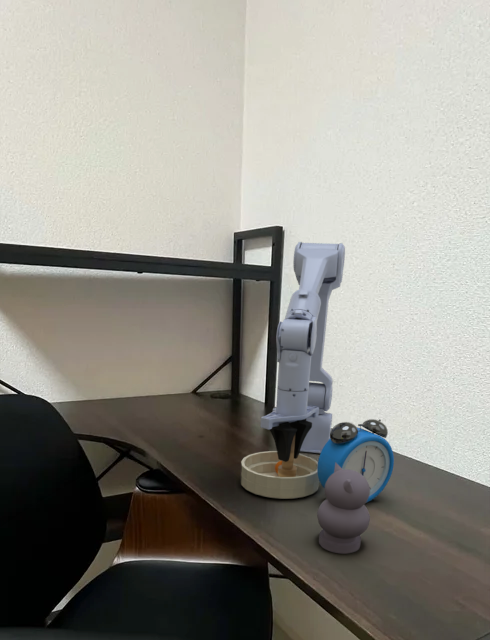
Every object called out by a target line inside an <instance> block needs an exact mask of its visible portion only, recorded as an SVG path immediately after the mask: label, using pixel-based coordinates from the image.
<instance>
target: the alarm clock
mask: <svg viewBox="0 0 490 640" xmlns="http://www.w3.org/2000/svg"><path fill="white" fill-rule="evenodd" d="M357 426H358V427H357ZM388 435H389V430H388V428H387V426H386V424H385V423H383V422H382V420H381V419H375V418H369V419H367V420H366V419H365V420H364V421H363V422H362V423H358V424H357V425H356V424H354V423H352V422H350V421H342V422H339V423H337V424H335V425H334V426H333V427H331V432H330V439H329V440H328V442H327V443H326V444H325V446H324V447H323V449H322V451H321V453H319V456H318V460H317V461H318V466H317V473H318V478H319V484H320V485H321V487H322V488H323V489H324V490H325V484H326V481H327V480H328V478H329V477H330V476H331V475H332V474H333V473H334V469H335V462H336V463H337V464H338V465H339V466H340V467H341V468H342V469H343V470H344V469H348V470H354V471H356V472H358V473H360V474H361V475H363V476H364V477H365V478H366V480H367V482H368V484H369V487H370V494H369V498H368V500H367V502H366V503H369V502H374V501H375V499H376V498H377V497H378V496H379V495H380V494H381V493H382V492H383V491H384V490H385V488H386V486H387V485H388V483H389V482H390V479H391V477H392V474H393V471H394V467H395V466H394V465H395V456H394V450H393V448H392V445H391V444H390V443H389V442H388V441H387V437H388ZM366 503H365V504H366Z"/></svg>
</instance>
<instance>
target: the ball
mask: <svg viewBox="0 0 490 640" xmlns="http://www.w3.org/2000/svg"><path fill="white" fill-rule="evenodd" d="M280 465H282V461H279V462H278V463H277V464H276V465H275V471H276V473H277V474H278V467H279V466H280Z"/></svg>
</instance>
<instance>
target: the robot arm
mask: <svg viewBox="0 0 490 640" xmlns="http://www.w3.org/2000/svg"><path fill="white" fill-rule="evenodd" d="M345 260H346V247H345V245H344V243H343V242H340V243H327V242H326V243H324V242H321V243H320V242H318V243H317V242H302V241H298V242H297V244H296V245H295V247H294V250H293V272H294V274H295V278H296V281H297V283H298V284H297V285H299V286H298V289H297V290H295V291H294V292H293V293H292V294H291V296H290V299H289V302H288V306H287V310H286V313H285V317H284V319H283V321H279V322H278V325H277V329H276V335H275V336H276V337H275V338H276V339H275V340H276V342H275V343H276V351H277V352H276V353H277V355H276V362H277V363H278V372H277V387H276V388H277V389H276V405H275V406H276V407H273V408H272V412H270V413H268V414H266V415H263V416H260V428H261V429H265V430H269V432H270V434H271V436H272V438H273V442H274V444H275V449H276V451H277V454H278V459H279V460H282V461H285V462H287V461H289V458H290V452H291V445H292V441H293V438H294V435H295V433H296V435H295V448H294V459H296V458H298V455H299V454H300V452H301V453H302V452H304V453H313V454H321V451H322V449H323V447H324V446H325V444H326V443H327V442H328V440H329V439H330V432H331V430H332V425H333V413H332V412H328V411H329V410H330V409H331V406H332V400H333V382H334V380H333V377H332V376H331V374H329V373H328V372H327V371H326V370H325V369H324V368H323V362H324V353H325V352H324V351H325V341H326V331H327V323H328V321H327V320H328V311H329V303H330V302H329V301H330V298H331V295H332V292H333V290H336V289H338V288H341V284H342V282H343V275H344V267H345Z"/></svg>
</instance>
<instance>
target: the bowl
mask: <svg viewBox="0 0 490 640" xmlns="http://www.w3.org/2000/svg"><path fill="white" fill-rule="evenodd" d="M279 461H282V460H279V459H278V454H277V450H269V451H268V450H267V451H258V452H254V453H250V454H248V455H246V456H244V457H243V458H242V460H240V485H241V486H242V487H243V488H244V489H245V490H246V491H248V492H250V493H252V494H254V495H256V496H257V495H258V496H260V497H265V498H271V499H280V500H281V499H283V500H284V499H285V500H288V499H298V498H299V499H300V498H304V497H308V496H311V495H313V494H315V493H316V492H317V491H318V490H319V487H320V481H319V478H318V473H317V466H318V460H316V459H315V458H313V457H310V456H308V455H305V454H302V453H299V455H298V458H296V459H294V462H293V466H295V467H296V468H297V470H296V477H279V476H278V474H277V473H276V471H275V465H276V464H277V463H278V462H279Z"/></svg>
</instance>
